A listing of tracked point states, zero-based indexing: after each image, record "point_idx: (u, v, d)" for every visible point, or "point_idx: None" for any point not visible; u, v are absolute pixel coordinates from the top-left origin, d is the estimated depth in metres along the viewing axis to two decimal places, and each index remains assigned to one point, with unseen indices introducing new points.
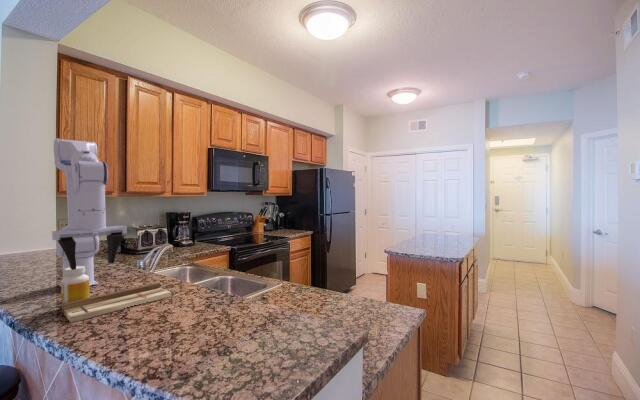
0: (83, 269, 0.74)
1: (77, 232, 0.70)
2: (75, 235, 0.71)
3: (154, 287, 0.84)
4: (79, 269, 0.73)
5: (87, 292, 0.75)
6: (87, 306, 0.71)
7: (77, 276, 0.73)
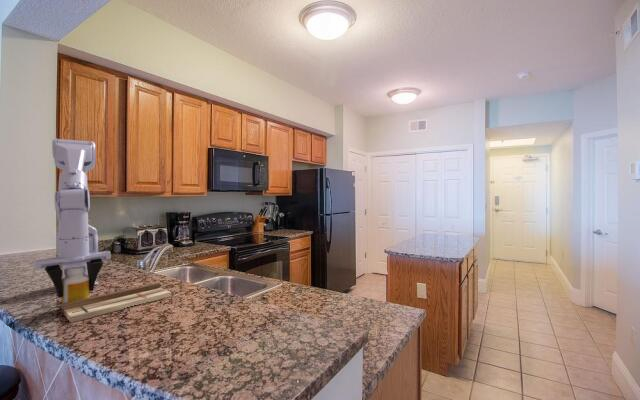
0: (83, 269, 0.74)
1: (59, 261, 0.70)
2: (57, 263, 0.72)
3: (154, 287, 0.84)
4: (79, 269, 0.73)
5: (87, 292, 0.75)
6: (87, 306, 0.71)
7: (77, 276, 0.73)
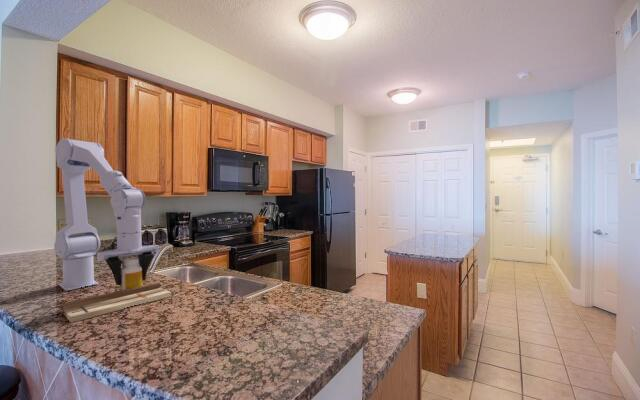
0: (137, 260, 0.83)
1: (118, 253, 0.80)
2: (116, 255, 0.81)
3: (154, 287, 0.84)
4: (134, 260, 0.82)
5: (140, 281, 0.83)
6: (87, 306, 0.71)
7: (133, 266, 0.82)
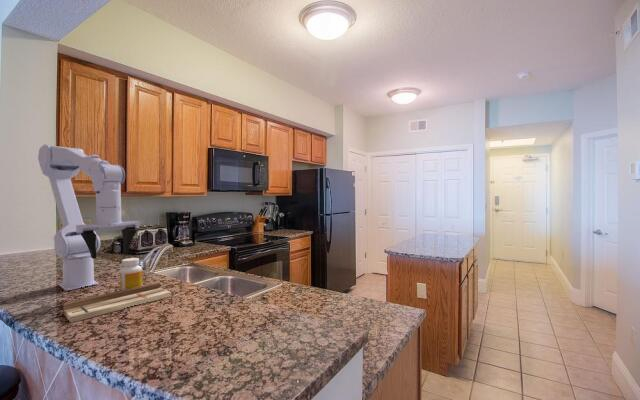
0: (137, 260, 0.83)
1: (97, 226, 0.81)
2: (95, 229, 0.82)
3: (154, 287, 0.84)
4: (134, 260, 0.82)
5: (140, 281, 0.83)
6: (87, 306, 0.71)
7: (133, 266, 0.82)
